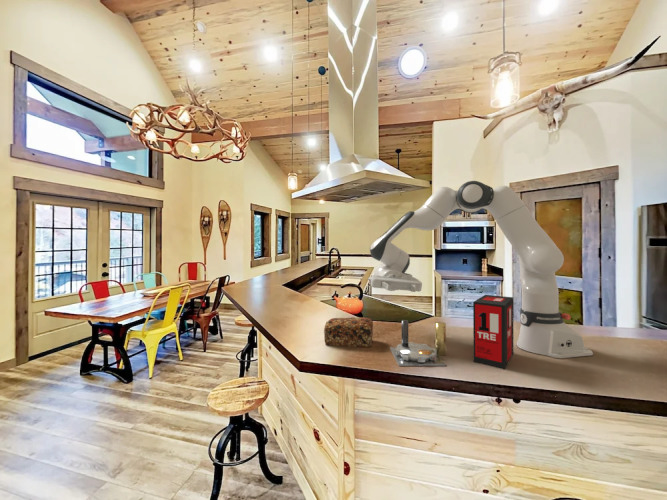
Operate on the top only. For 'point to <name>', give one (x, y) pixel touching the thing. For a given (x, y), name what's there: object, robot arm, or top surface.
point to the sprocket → (414, 348)
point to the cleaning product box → (493, 330)
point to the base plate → (403, 362)
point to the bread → (349, 332)
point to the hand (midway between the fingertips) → (401, 288)
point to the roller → (440, 338)
